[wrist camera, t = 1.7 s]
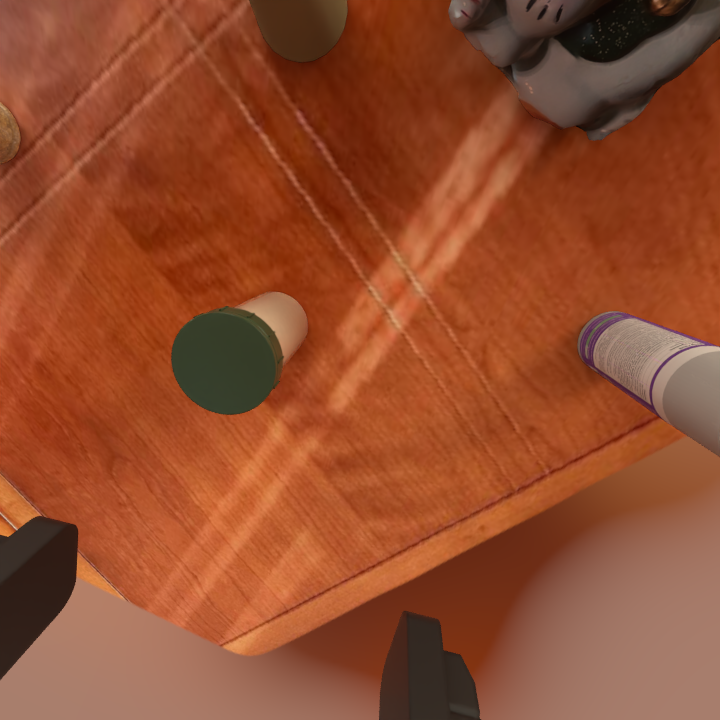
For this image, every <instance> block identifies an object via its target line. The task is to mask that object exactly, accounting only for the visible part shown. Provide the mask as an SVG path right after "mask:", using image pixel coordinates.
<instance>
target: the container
mask: <svg viewBox="0 0 720 720" xmlns="http://www.w3.org/2000/svg"><path fill="white" fill-rule="evenodd" d="M578 353H579V355H580V357H581V359H582V361H583V362H584V363H585V364H586V365H587V366H589V367H590V368H591V369H593V370H594V371H595V372H597V373H598V374H600V375H601V376H602V377H604V378H605V379H607V380H608V381H609V382H611V383H612V384H614V385H615V386H616V387H618V388H619V389H621V390H622V391H623V392H625V393H626V394H628V395H629V396H630V397H632V398H633V399H635V400H636V401H637V402H639V403H640V404H642V405H643V406H645V407H646V408H647V409H649V410H650V411H652V412H653V413H654V414H656V415H657V416H659V417H660V418H661V419H663V420H664V421H666V422H667V423H669V424H670V425H672V426H673V427H675V428H677V429H678V430H680V431H681V432H683V433H684V434H686V435H687V436H689V437H690V438H692V439H693V440H695V441H696V442H698V443H699V444H701V445H702V446H704V447H706V448H707V449H708V450H710V451H711V452H713V453H715V454H716V455H718V456H719V457H720V347H719V346H716V345H713V344H710V343H708V342H705V341H702V340H699V339H697V338H694V337H691V336H688V335H685V334H683V333H680V332H677V331H674V330H671V329H669V328H666V327H663V326H660V325H657V324H655V323H652V322H649V321H646V320H644V319H641V318H638V317H635V316H632V315H630V314H626V313H623V312H618V311H611V312H605V313H602V314H600V315H597V316H595V317H594V318H592V319H591V320H590V321H589V322H588V323H587V324H586V325H585V326H584V327H583V329H582V331H581V333H580V335H579V338H578Z"/></svg>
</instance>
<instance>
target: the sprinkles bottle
mask: <svg viewBox="0 0 720 720" xmlns="http://www.w3.org/2000/svg"><path fill="white" fill-rule="evenodd" d="M20 141H21V137H20V130H19V127H18V125H17V123H16V120H15V118H14V116H13V115H12V113H11V112H10V110H9V109H8V108H7V107H6V106H4V105H3V104H1V102H0V164H1V163H6V162H8V161H9V160H11V159H12V158H13V157H14V156H15V155H16V154H17V152H18V149H19V145H20Z"/></svg>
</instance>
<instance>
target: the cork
mask: <svg viewBox="0 0 720 720" xmlns="http://www.w3.org/2000/svg"><path fill="white" fill-rule="evenodd" d="M249 1H250V4H251V7H252V9H253V12H254V15H255V17H256V20H257V23H258V25H259V28H260V30H261V33H262V35H263V38H264V39H265V40H266V42H267V43H268V44H269V46H270V47H271V48H272V49H273V51H275V52H276V53H278V54H279V55H281V56H282V57H284V58H285V59H288V60H292V61H296V62H308V61H314V60H316V59H318V58H320V57H322V56H324V55H326V54H327V53H328V52H329V51H330V50H331V49H332V48H333V47H334V46H335V45H336V44H337V42H338V40H339V38H340V36H341V34H342V32H343V30H344V27H345V22H346V17H347V12H348V9H347V0H249Z"/></svg>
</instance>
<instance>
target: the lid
mask: <svg viewBox="0 0 720 720" xmlns="http://www.w3.org/2000/svg"><path fill="white" fill-rule="evenodd" d="M193 318H194V319H192V320H190V321H189V322H188V323H186V324H185V325H184V326H183V328H182V329H181V330H180V331H179V333H178V334H177V336H176V338H175V341H174V344H173V347H172V355H171V361H172V368H173V372H174V375H175V378H176V380H177V382H178V384H179V386H180V387H181V389H182V390H183V392H184V393H185V394H186V395H187V396H188V397H189V398H190V399H191V400H192V401H193V402H195V403H196V404H197V405H199V406H201V407H202V408H204V409H206V410H209V411H211V412H215V413H219V414H226V415H233V414H240V413H244V412H247V411H250V410H252V409H254V408H255V407H257V406H258V405H260V404H261V403H262V402H263V401H264V400H265V399H266V398H267V396H268V395H269V394H270V392H271V391H272V390H273V389H275V387H276V386H277V385H278V383H279V382H280V381H279V379H280V376H281V373H282V369H283V359H284V356H283V354H282V349H281V345H280V343H279V340H278V338H277V336H276V335H275V333H276V332H275V331H273V330H272V329H271V327H270V326H269V325H268V324H267V323H266V322H265V321H263V320H262V319H261V318H260V317H258V316H257V315H255V313H254V312H253V313H251V312H249V311H246V310H243V309H239V308H232V307H228V306H225V307H223V308H218V309H214V310H212V311H209V312H207V313H202V314H200V315H197V316H195V317H193Z"/></svg>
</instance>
